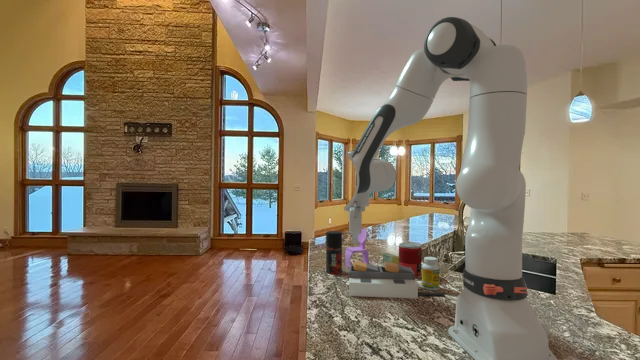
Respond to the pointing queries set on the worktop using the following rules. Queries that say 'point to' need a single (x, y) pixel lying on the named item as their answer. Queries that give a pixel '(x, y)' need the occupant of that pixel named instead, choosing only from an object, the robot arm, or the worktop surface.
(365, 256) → the toy chair
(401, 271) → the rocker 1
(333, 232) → the deodorant
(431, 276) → the supplement bottle
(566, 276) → the worktop surface
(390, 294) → the power strip
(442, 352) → the worktop surface
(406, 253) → the canned food
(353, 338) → the worktop surface
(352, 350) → the worktop surface
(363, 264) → the rocker
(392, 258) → the medication box
